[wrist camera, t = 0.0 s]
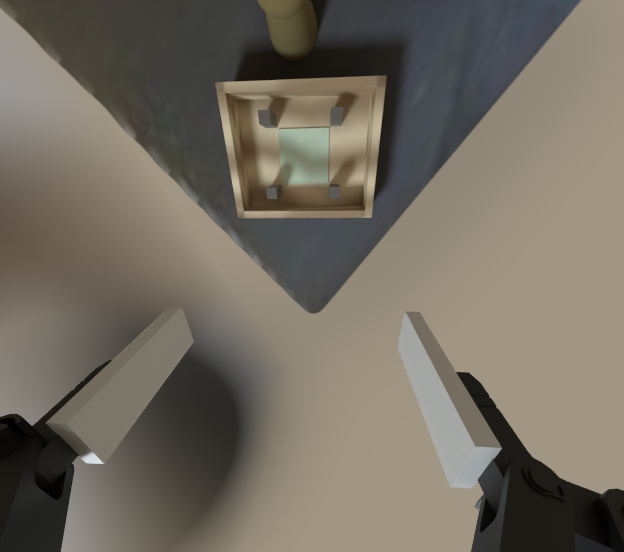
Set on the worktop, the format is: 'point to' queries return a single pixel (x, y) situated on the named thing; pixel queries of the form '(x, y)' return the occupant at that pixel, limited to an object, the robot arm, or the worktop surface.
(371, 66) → the worktop surface
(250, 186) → the socket box
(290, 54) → the cork
